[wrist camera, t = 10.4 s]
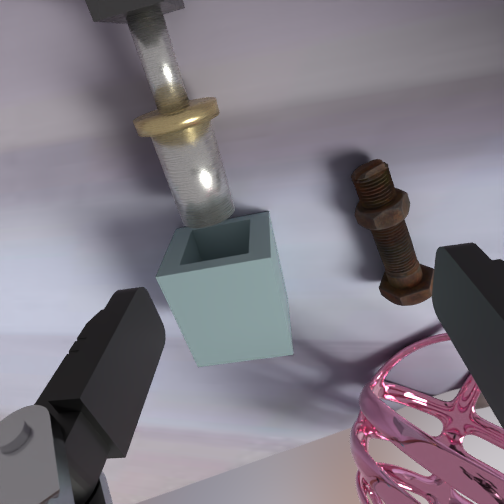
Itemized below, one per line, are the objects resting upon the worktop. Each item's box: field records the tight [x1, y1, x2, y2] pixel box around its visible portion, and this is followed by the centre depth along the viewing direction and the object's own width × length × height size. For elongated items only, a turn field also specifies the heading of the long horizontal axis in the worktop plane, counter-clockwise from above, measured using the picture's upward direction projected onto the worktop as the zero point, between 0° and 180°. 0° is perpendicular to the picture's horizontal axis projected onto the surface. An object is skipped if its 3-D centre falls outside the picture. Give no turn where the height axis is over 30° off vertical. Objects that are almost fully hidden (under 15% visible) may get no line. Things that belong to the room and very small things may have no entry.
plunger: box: [85, 0, 235, 228], centre depth 25 cm, size 6×18×6 cm, turn 13°
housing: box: [156, 211, 293, 367], centre depth 35 cm, size 10×12×8 cm
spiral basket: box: [350, 333, 504, 504], centre depth 36 cm, size 28×28×27 cm
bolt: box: [351, 159, 434, 306], centre depth 33 cm, size 6×5×15 cm
